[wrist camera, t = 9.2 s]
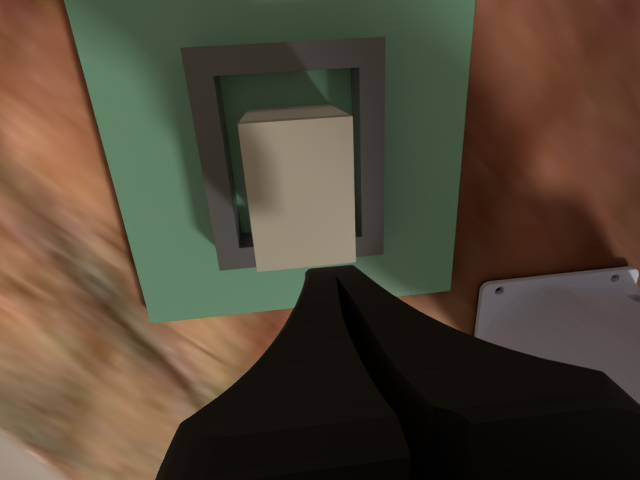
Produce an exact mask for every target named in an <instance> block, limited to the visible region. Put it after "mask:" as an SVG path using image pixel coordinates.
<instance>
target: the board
mask: <svg viewBox="0 0 640 480" xmlns="http://www.w3.org/2000/svg"><path fill="white" fill-rule="evenodd" d="M64 2H65V6H66V10H67V13H68V17H69V21H70V24H71V28H72V32H73V36H74V39H75V43H76V47H77V50H78V54H79V58H80V62H81V65H82V69H83V73H84V76H85V80H86V84H87V88H88V91H89V95H90V99H91V102H92V106H93V110H94V114H95V117H96V121H97V125H98V128H99V132H100V136H101V140H102V143H103V147H104V151H105V154H106V158H107V162H108V166H109V169H110V173H111V177H112V180H113V184H114V188H115V192H116V195H117V199H118V203H119V206H120V210H121V214H122V218H123V221H124V225H125V229H126V232H127V236H128V240H129V244H130V247H131V251H132V255H133V258H134V262H135V266H136V270H137V273H138V277H139V281H140V284H141V288H142V292H143V296H144V299H145V303H146V307H147V310H148V314H149V318H150V322H151V323H159V322H169V321H178V320H187V319H196V318H205V317H214V316H224V315H233V314H242V313H251V312H260V311H270V310H279V309H288V308H294V307H295V305H296V303H297V300H298V298H299V296H300V293H301V291H302V288H303V284H304V281H305V272H306V271H307V270H308V269H311V268H322V267H333V266H343V265H354V266H355V267H357V268H358V269H359V270H360V271H362V272H363V273H364V274H366V275H367V276H368V277H369V278H371V279H372V280H373V281H375V282H376V283H377V284H379V285H380V286H381V287H383V288H384V289H385V290H387V291H388V292H390V293H391V294H393V295H394V296H396V297H398V296H407V295H416V294H425V293H435V292H444V291H450V290H451V279H452V267H453V255H454V244H455V232H456V220H457V209H458V197H459V185H460V174H461V162H462V150H463V139H464V127H465V116H466V104H467V92H468V81H469V69H470V57H471V46H472V34H473V22H474V11H475V0H64ZM320 104H330V105H332V106H334V107H336V108H338V109H340V110H342V111H344V112H346V113H348V114H350V115H352V116H353V150H354V197H355V245H356V262H353V263H343V264H333V265H323V266H313V267H303V268H293V269H283V270H273V271H263V272H257V267H256V259H255V252H254V244H253V237H252V229H251V222H250V214H249V206H248V199H247V191H246V184H245V176H244V169H243V161H242V154H241V146H240V139H239V131H238V123H239V121H240V120H241V119H242V117H243V116H244V114H245V113H246V111H247V110H248V109H260V108H275V107H290V106H305V105H320Z"/></svg>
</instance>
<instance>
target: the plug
mask: <svg viewBox="0 0 640 480" xmlns="http://www.w3.org/2000/svg"><path fill="white" fill-rule="evenodd" d="M238 131H239V139H240V146H241V154H242V161H243V169H244V176H245V184H246V191H247V199H248V206H249V214H250V222H251V229H252V237H253V244H254V252H255V259H256V267H257V272H263V271H273V270H283V269H293V268H303V267H313V266H323V265H333V264H343V263H353V262H356V245H355V197H354V150H353V116H352V115H350V114H348V113H346V112H344V111H342V110H340V109H338V108H336V107H334V106H332V105H330V104H320V105H305V106H290V107H275V108H260V109H248V110H247V111H246V113H245V114H244V116H243V117H242V119H241V120H240V121H239V123H238Z"/></svg>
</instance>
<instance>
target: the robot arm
mask: <svg viewBox="0 0 640 480" xmlns="http://www.w3.org/2000/svg"><path fill="white" fill-rule="evenodd" d="M613 275H614V276H613ZM638 275H639V272H638V270H637V269H635V268H633V267H631V266H626V267H616V268H607V269H598V270H589V271H579V272H570V273H561V274H551V275H542V276H533V277H524V278H514V279H505V280H496V281H488V282H485V283H484V284H482V286H481V287H480V291H479V300H478V308H477V316H476V325H475V333H474V336H472V335H469V334H466V333H464V332H461V331H459V330H457V329H454V328H452V327H450V326H448V325H446V324H443V323H441V322H439V321H437V320H435V319H433V318H431V317H429V316H427V315H425V314H424V313H422V312H420V311H418V310H416V309H415V308H413V307H411V306H410V305H408V304H407V303H405V302H403V301H402V300H400V299H399V298H397V297H396V296H394V295H393V294H391V293H390V292H388V291H387V290H385V289H384V288H383V287H381V286H380V285H379V284H377V283H376V282H375V281H373V280H372V279H371V278H369V277H368V276H367V275H366V274H364V273H363V272H362V271H360V270H359V269H358V268H357V267H355V266H354V265H343V266H333V267H322V268H311V269H308V270H307V271H306V272H305V281H304V284H303V288H302V291H301V293H300V296H299V298H298V300H297V303H296V305H295V307H294V309H293V311H292V313H291V314H290V316H289V318H288V320H287V322H286V324H285V325H284V327H283V328H282V330H281V331H280V333H279V334H278V336H277V337H276V339H275V340H274V341H273V343H272V344H271V345H270V347H269V348H268V349H267V350H266V351H265V353H264V354H263V355H262V356H261V357H260V359H259V360H258V361H257V362H256V363H255V364H254V365H253V366H252V367H251V368H250V369H249V371H248V372H246V373H245V374H244V375H243V376H242V377H241V378H240V379H239V380H238V381H237V382H236V383H234V384H233V385H232V386H231V387H230V388H229V389H227V390H226V391H225V392H224V393H222V394H221V395H220V396H219V397H217V398H216V399H214V400H213V401H212V402H210V403H209V404H207V405H206V406H205V407H203V408H202V409H200V410H199V411H198V412H196V413H195V414H193V415H192V416H191V417H189V418H187V419H186V420H184V421H183V422H182V423H181V424H180V425H179V427H178V429H177V431H176V433H175V435H174V437H173V440H172V442H171V444H170V446H169V448H168V450H167V453H166V455H165V458H164V460H163V462H162V464H161V466H160V469H159V471H158V474H157V477H156V479H155V480H640V287H639V286H638V285H636V282H637V279H638ZM612 276H613V277H612ZM499 287H500V289H499V290H498V291H496V289H497V288H499ZM495 291H496V292H495Z"/></svg>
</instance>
